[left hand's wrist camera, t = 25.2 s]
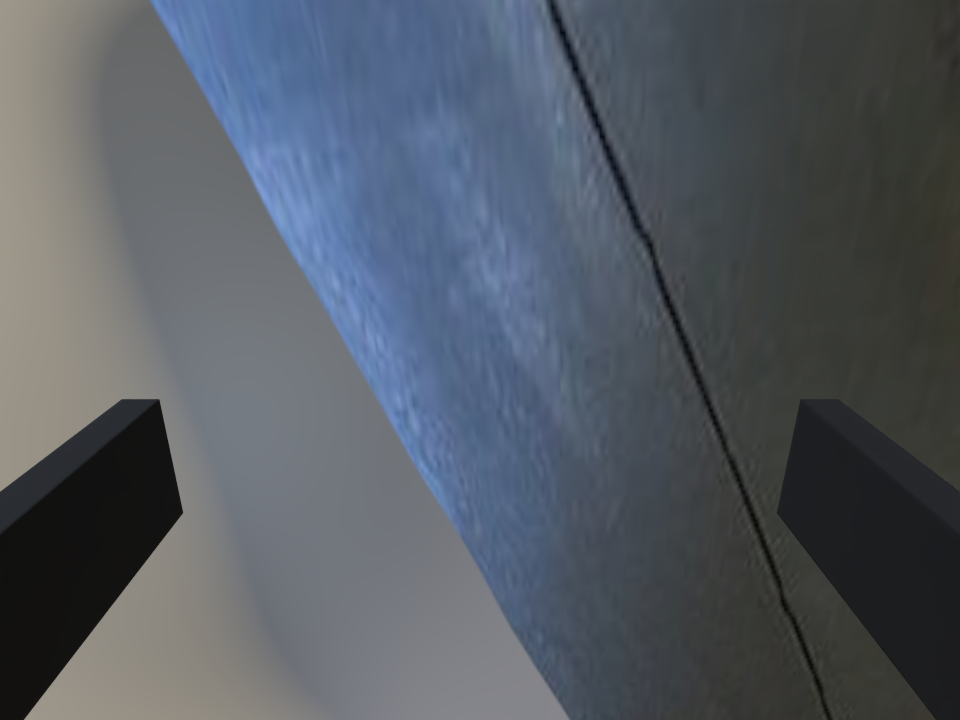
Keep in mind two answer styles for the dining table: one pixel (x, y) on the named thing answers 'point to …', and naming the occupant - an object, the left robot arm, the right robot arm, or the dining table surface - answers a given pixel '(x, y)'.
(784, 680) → the dining table surface
